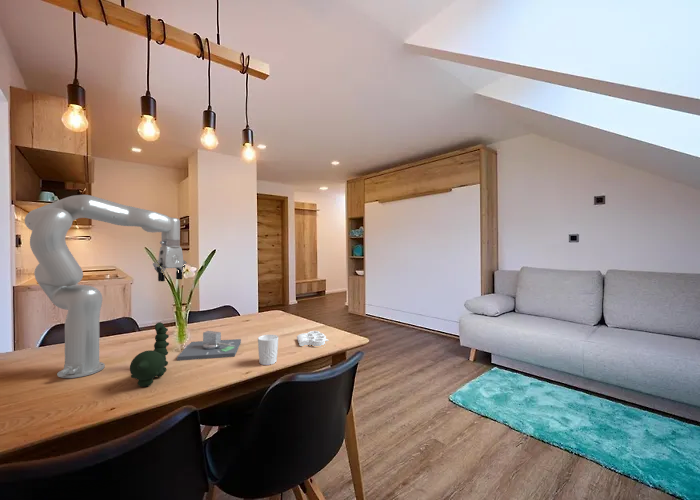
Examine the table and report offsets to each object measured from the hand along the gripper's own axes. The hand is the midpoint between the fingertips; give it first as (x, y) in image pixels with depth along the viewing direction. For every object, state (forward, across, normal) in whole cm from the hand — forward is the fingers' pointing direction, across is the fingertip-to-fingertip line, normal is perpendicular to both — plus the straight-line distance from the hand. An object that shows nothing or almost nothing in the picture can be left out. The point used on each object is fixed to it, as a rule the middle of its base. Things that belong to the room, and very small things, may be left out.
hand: (170, 280), depth 142 cm
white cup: (+31, -5, -56) cm, 64 cm away
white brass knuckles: (+31, +25, -62) cm, 74 cm away
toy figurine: (+31, -30, -26) cm, 50 cm away
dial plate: (+30, -1, -25) cm, 39 cm away
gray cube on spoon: (+29, -1, -28) cm, 40 cm away
